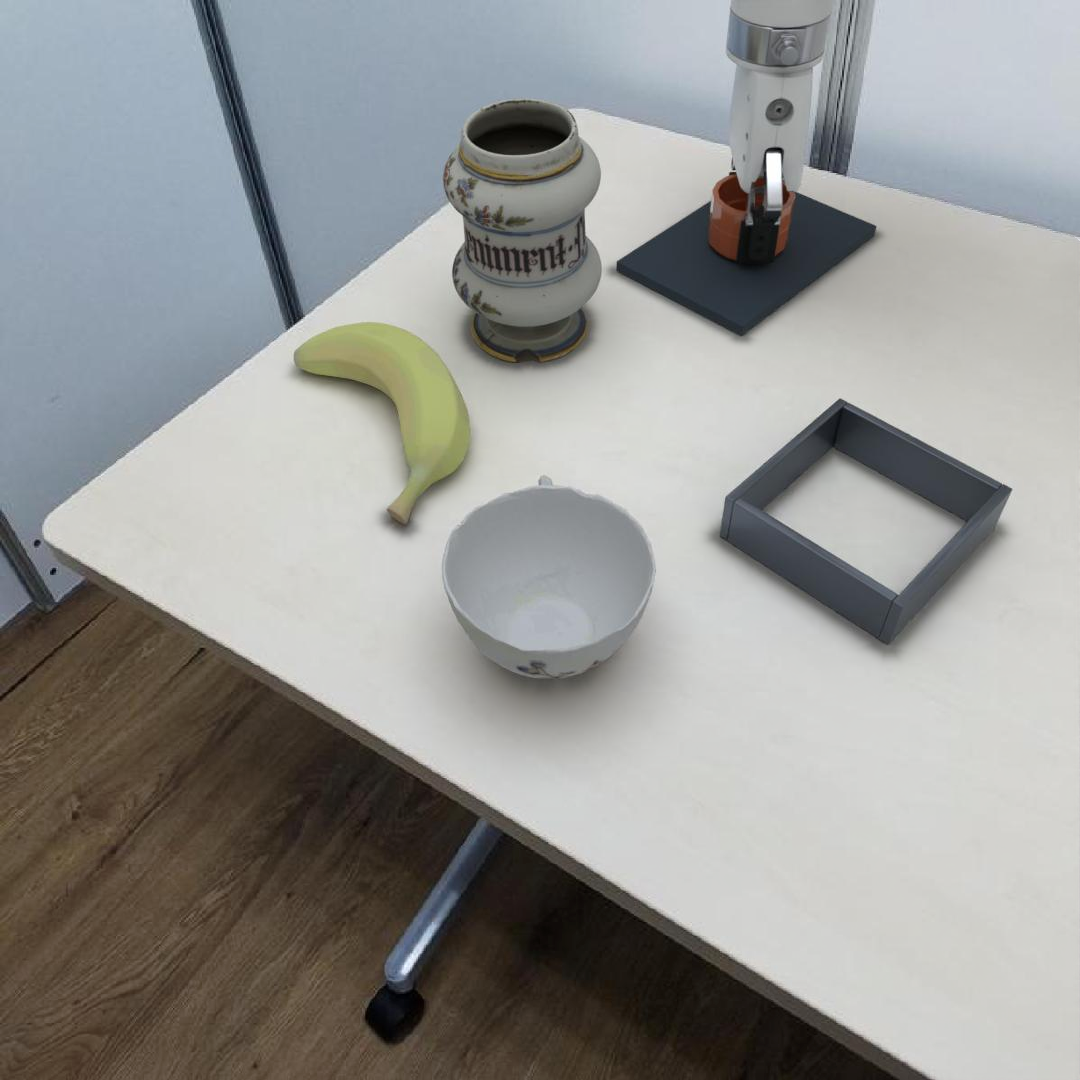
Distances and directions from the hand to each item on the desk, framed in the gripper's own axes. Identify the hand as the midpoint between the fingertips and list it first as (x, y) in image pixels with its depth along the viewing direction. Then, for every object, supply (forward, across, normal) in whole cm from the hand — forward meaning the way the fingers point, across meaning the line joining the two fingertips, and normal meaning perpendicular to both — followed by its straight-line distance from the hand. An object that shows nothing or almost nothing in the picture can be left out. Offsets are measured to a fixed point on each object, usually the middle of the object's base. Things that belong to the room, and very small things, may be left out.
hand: (748, 235), depth 91 cm
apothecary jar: (+2, -10, +20) cm, 22 cm away
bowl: (+1, 0, 0) cm, 1 cm away
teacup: (+2, -41, +18) cm, 45 cm away
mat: (+2, 0, 0) cm, 2 cm away
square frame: (+2, -34, -3) cm, 34 cm away
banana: (+2, -23, +31) cm, 39 cm away
